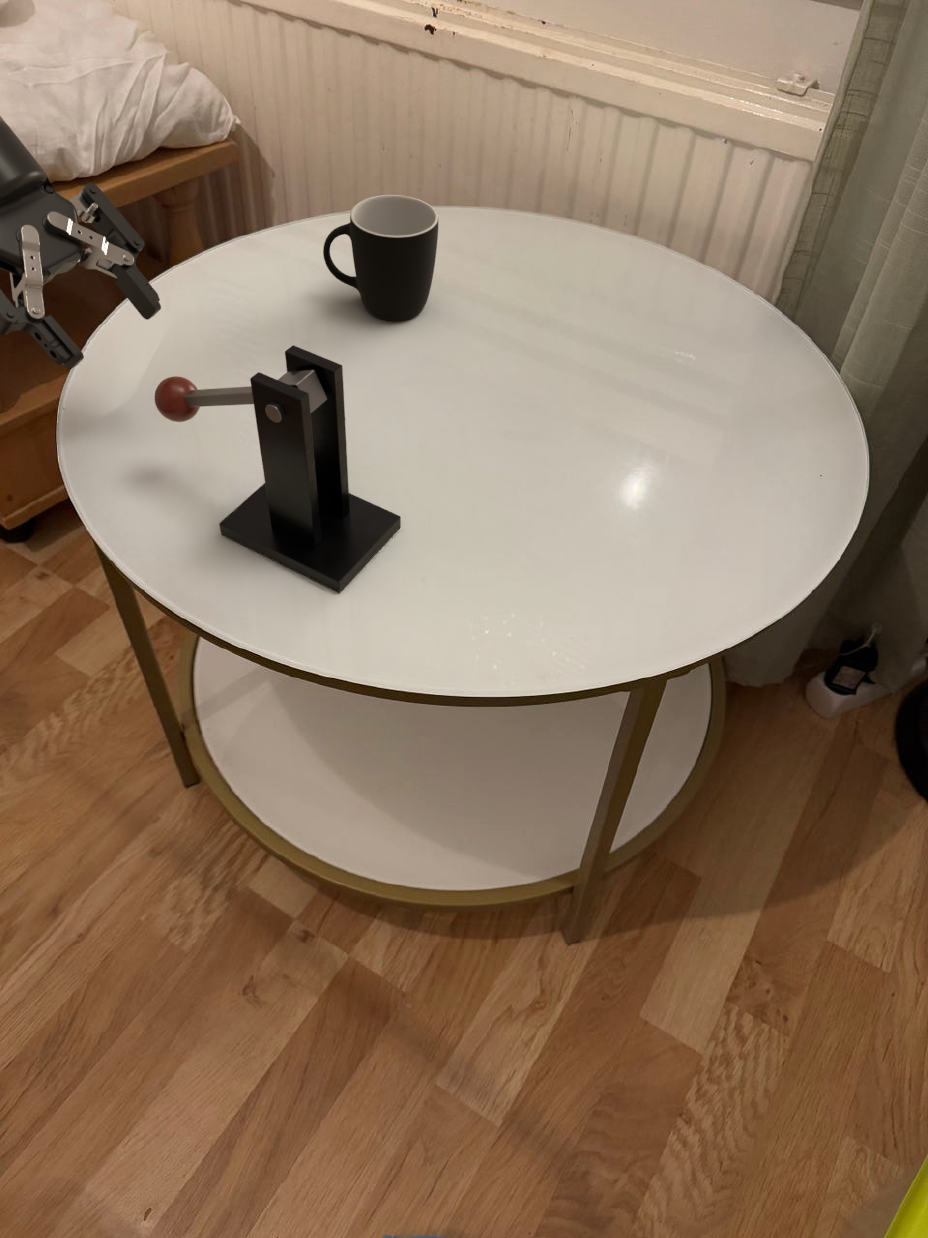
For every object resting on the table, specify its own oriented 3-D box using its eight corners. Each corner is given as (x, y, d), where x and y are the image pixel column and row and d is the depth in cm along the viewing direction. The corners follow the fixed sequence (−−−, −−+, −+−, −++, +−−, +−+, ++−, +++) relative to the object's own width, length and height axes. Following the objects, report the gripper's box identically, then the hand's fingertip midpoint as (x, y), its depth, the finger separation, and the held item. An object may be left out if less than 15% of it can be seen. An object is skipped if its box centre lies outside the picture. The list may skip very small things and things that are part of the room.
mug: (439, 288, 102) (442, 198, 94) (430, 332, 96) (433, 240, 88) (333, 277, 102) (328, 187, 94) (318, 321, 96) (311, 228, 89)
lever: (159, 430, 75) (137, 391, 72) (189, 408, 77) (168, 369, 75) (307, 427, 65) (286, 381, 63) (336, 401, 67) (317, 356, 65)
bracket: (220, 534, 75) (187, 373, 63) (287, 475, 80) (268, 315, 68) (339, 593, 72) (329, 435, 60) (400, 527, 77) (402, 369, 65)
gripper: (-111, 156, 60) (66, 363, 65) (52, 90, 68) (197, 279, 74) (-131, 212, 65) (34, 399, 71) (23, 145, 73) (160, 316, 79)
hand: (117, 337), depth 72 cm, fingers open, 8 cm apart
